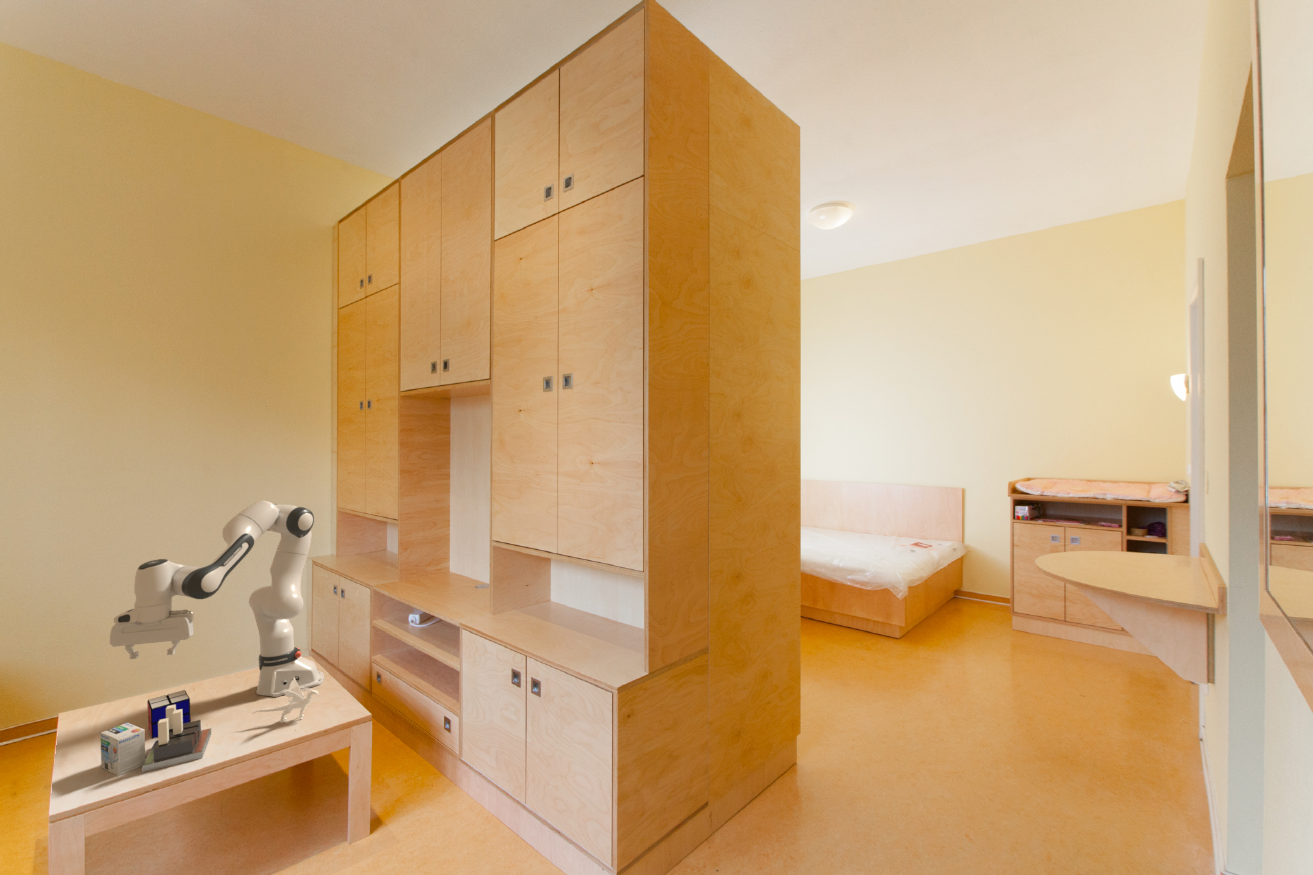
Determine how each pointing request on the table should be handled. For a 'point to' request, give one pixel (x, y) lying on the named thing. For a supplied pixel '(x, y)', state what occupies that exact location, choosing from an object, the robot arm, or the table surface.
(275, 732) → the table surface
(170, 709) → the handle
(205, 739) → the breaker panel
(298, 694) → the dragon
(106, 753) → the light bulb box
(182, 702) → the puzzle cube
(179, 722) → the handle
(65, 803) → the table surface
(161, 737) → the handle
